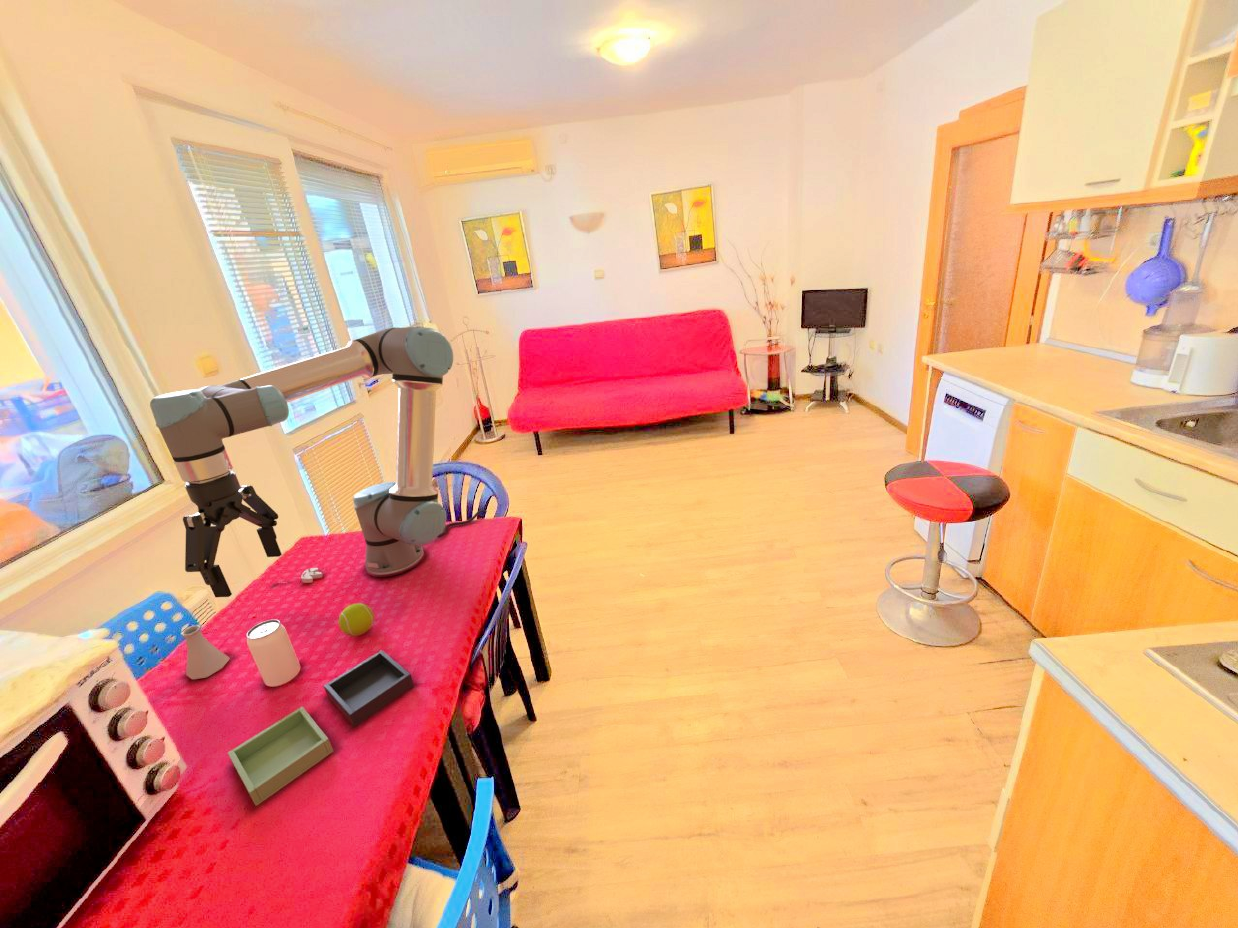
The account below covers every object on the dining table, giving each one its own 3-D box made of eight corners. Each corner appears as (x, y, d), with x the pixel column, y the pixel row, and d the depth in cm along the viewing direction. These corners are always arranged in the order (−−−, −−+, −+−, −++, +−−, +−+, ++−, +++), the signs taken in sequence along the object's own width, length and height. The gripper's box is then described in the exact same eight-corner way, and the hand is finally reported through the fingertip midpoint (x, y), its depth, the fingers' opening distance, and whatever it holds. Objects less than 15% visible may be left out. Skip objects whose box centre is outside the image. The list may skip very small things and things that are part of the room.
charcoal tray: (385, 661, 105) (381, 649, 104) (414, 685, 98) (410, 673, 97) (327, 697, 97) (323, 685, 96) (354, 727, 90) (349, 714, 89)
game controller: (323, 579, 137) (320, 571, 136) (274, 595, 132) (270, 587, 131) (322, 570, 141) (319, 562, 140) (275, 585, 136) (271, 577, 135)
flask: (206, 682, 104) (187, 643, 100) (179, 678, 105) (159, 640, 102) (237, 656, 110) (220, 619, 107) (211, 654, 112) (193, 617, 108)
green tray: (307, 718, 93) (302, 705, 92) (333, 751, 85) (328, 738, 84) (233, 765, 85) (227, 752, 83) (255, 806, 77) (249, 792, 76)
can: (261, 692, 100) (240, 644, 95) (268, 670, 105) (248, 624, 101) (298, 680, 102) (279, 633, 97) (303, 660, 107) (285, 614, 103)
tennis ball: (350, 647, 110) (341, 621, 107) (339, 633, 115) (330, 608, 112) (382, 629, 115) (374, 604, 112) (369, 617, 119) (361, 593, 117)
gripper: (241, 453, 103) (276, 542, 111) (124, 508, 80) (178, 616, 88) (275, 451, 103) (308, 541, 111) (167, 506, 80) (218, 615, 88)
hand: (250, 574), depth 99 cm, fingers open, 13 cm apart
